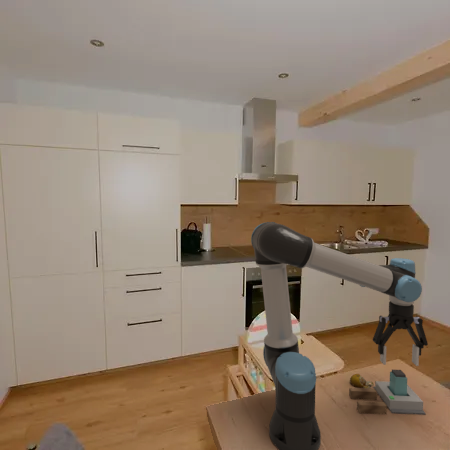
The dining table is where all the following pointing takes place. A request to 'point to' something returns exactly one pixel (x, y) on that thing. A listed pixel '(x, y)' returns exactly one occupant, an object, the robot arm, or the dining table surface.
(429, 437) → the dining table surface
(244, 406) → the dining table surface
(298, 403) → the robot arm
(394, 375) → the plug
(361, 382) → the fruit
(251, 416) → the dining table surface
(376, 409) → the pair of wooden rails
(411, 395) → the port
